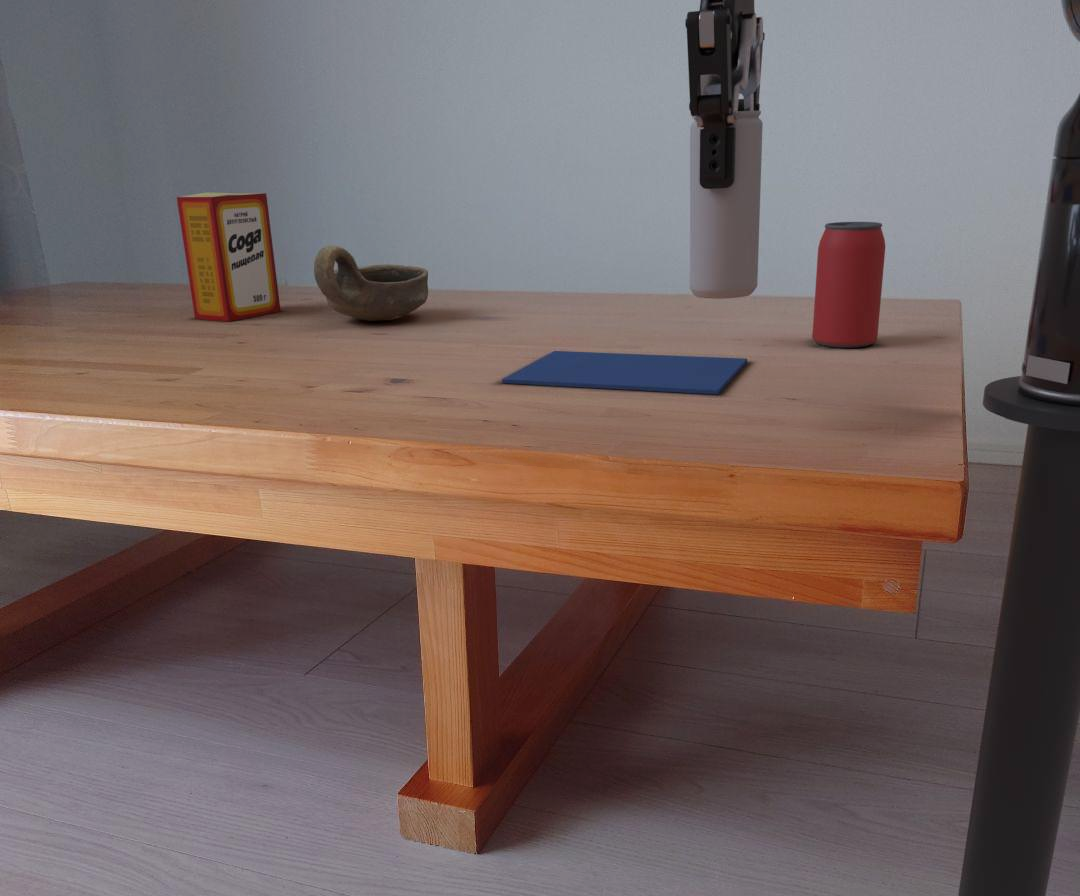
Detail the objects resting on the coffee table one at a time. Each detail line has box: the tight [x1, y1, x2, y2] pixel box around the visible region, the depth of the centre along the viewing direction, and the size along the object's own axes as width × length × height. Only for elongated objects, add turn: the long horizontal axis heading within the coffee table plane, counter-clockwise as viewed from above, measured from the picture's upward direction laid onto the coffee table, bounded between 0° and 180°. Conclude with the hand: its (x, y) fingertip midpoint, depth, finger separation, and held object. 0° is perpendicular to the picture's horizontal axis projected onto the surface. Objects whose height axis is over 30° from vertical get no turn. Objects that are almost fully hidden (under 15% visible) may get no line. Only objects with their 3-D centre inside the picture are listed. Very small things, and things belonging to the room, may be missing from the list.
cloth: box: [501, 350, 748, 395], centre depth 95 cm, size 20×14×1 cm
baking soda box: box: [176, 192, 281, 322], centre depth 136 cm, size 10×6×16 cm
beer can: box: [811, 221, 886, 349], centre depth 103 cm, size 7×7×12 cm
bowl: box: [313, 245, 429, 322], centre depth 128 cm, size 14×18×10 cm
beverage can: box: [689, 110, 764, 300], centre depth 70 cm, size 5×5×12 cm
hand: (725, 185), depth 69 cm, fingers closed on beverage can, 5 cm apart
